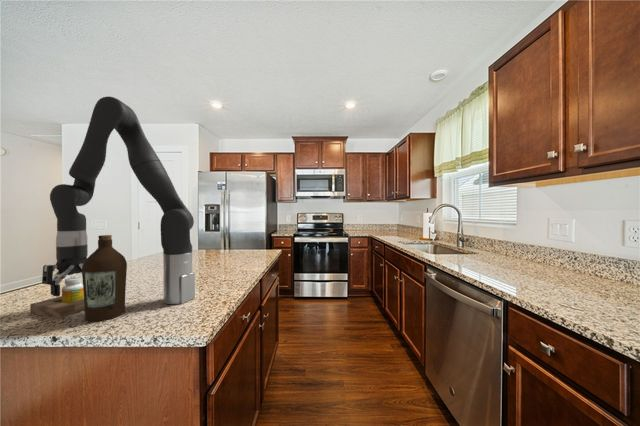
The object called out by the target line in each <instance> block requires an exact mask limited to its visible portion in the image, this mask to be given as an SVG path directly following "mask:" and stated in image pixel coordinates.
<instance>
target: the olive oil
mask: <svg viewBox="0 0 640 426" xmlns="http://www.w3.org/2000/svg"><path fill="white" fill-rule="evenodd" d="M112 237H113V235H111V234H104V235H103V234H101V235H98V239H97V248H96V250H95V251H93V252H92V253H91V254H90V255H89V256H87V259H86V260H85V261H84V263H83V266H82V274H81V275H82V277H81V280H82V284H83V291H84V307H85V311H84V320H85V321H87V322H91V323H94V322H102V321H108V320H111V319H114V318H117V317H120V316H122V315H123V314H124V313H125V311H126V290H127V289H126V288H127V285H126V284H127V274H128V273H127V270H128V262H127V260H126V258H125V256H124V255H123V254H122V253H121V252H119V251H118V250H117V249H115V248H114V247H113V239H112Z"/></svg>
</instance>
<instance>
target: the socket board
mask: <svg viewBox="0 0 640 426" xmlns="http://www.w3.org/2000/svg"><path fill="white" fill-rule="evenodd" d="M29 308H30V309H29V310H30V315H35V316H36V315H37V316H43V317H49V318H56V319H63V318H66V317H69V316H73V315H75V314H78V313H79V314H80V313H81V312H85V307H84V299H81V300H77V301H74V302H70V303H62V295H60V296H57V297H53V298H50V299H46V300H42V301H38V302H34V303H31V304H30V306H29Z"/></svg>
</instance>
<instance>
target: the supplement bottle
mask: <svg viewBox="0 0 640 426" xmlns="http://www.w3.org/2000/svg"><path fill="white" fill-rule="evenodd" d="M61 296H62V303H70V302H74V301H77V300H81V299H84V291H83V283H82V277H70V278H65V279H64V286H63V287H62V288H61Z"/></svg>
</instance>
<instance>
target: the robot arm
mask: <svg viewBox="0 0 640 426" xmlns="http://www.w3.org/2000/svg"><path fill="white" fill-rule="evenodd" d="M91 114H92V115H91V117H90V121H89V123H88V128H87V130H86V135H85V136H84V137H85V138H84V139H83V142H82V145H81V148H80V149H79V152H78V153H77V155H76V157H75V159H74V161H73V162H72V165H71V166H70V168H69V170H68V174H69V176H70V177H71V178H73V179H74V181H73V184H72V185H71V184H67V183H65V184H57V185H55V186H54V187H53V188H52V189H51V191H50V193H49V200H50V204H51V207H52V210H53V213H54V215H55V217H56V236H55V249H56V250H55V253H56V254H55V255H56V256H55V258H56V263H55V264H44V265H43V267H42V276H41V277H42V278H41V281H42V282H41V283H42V284H43V285H49V286H50V295H51V296H52V297H55V298H57V297H61V284H60V283H61V282H62V281H63V279H64V280H65V279H66V277H67V276H72V275H75V274H76V275H77V274H81V275H82V266H83V263H84V261H85V260H86V259H87V258H88V254H89V253H88V252H89V251H88V234H87V217H86V215H85V214H83V213H81V212H79V211H78V207H82V206H83V207H84V206H85V205H87V204H89V202H90V201H92V198H93V197H94V194H95V193H94V192H95V187H96V180H97V179H98V176H99V175H100V173H101V171H102V169H103V167H104V165H105V162H106V159H107V158H106V157H107V147H108V141H109V138H110V136H111V134H112V132H113V131H114V130H115V131H116V133H118V135H119V137H120V138H121V140H122V141H123V144H124V145H125V147H126V151H127V152H126V153H127V157H128V163H129V165H130V168H131V169H132V171H133V173H134V175H135V177H136V179H137V180H138V182H139V183H140V184H141V186H142V187H143V188H144V189H145V190H146V192H148V194H149V195H150V196H151V197H152V198H153V199H154V200H155V201H156V202H157V204H158V205H159V207H160V209H161V211H162V213H163V214H162V216H161V219H160V243H161V245H160V246H161V248H162V250H163V251H162V253H163V263H162V264H163V266H162V269H163V270H162V271H163V276H162V277H163V280H162V281H163V283H162V285H163V303H164V304H166V305H176V304H178V305H179V304H184V303H186V302H188V301H192V300H193V299H195V298H196V289H195V288H196V283H195V282H196V281H195V280H196V274H195V272H193V245H192V242H191V230H192V229H193V226H194V224H195V223H194V222H195V220H194V217H193V214H192V213H191V212H190V210H189V208H188V207H187V206H186V205H185V204H184V203H185V202H183V200H182V199H181V197H180V196H179V194H178V193H177V190H176V188H175V186H174V184H173V182H172V180H171V178H170V176H169V173H168V172H167V170H166V168H165V166H164V165H163V163H162V162H161V160H160V158H159V156H158V155H157V153H156V152H155V150H154V148H153V146H152V145H151V143H150V142H149V140H148V139H147V137H146V135H145V132H144V131H143V128H142V126H141V123H140V121H139V117H138V116H137V113H135V111H134V109H132V108H131V107H130V106H128V105H127V104H126V103H124V102H123V101H121V100H120V99H118V98H116V97H113V96H103V97H101V98H99V99H98V100H97V101H96V103H95V105H94V107H93V110H92V113H91ZM55 270H57V271H56V272H55V274H54V271H55Z"/></svg>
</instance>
